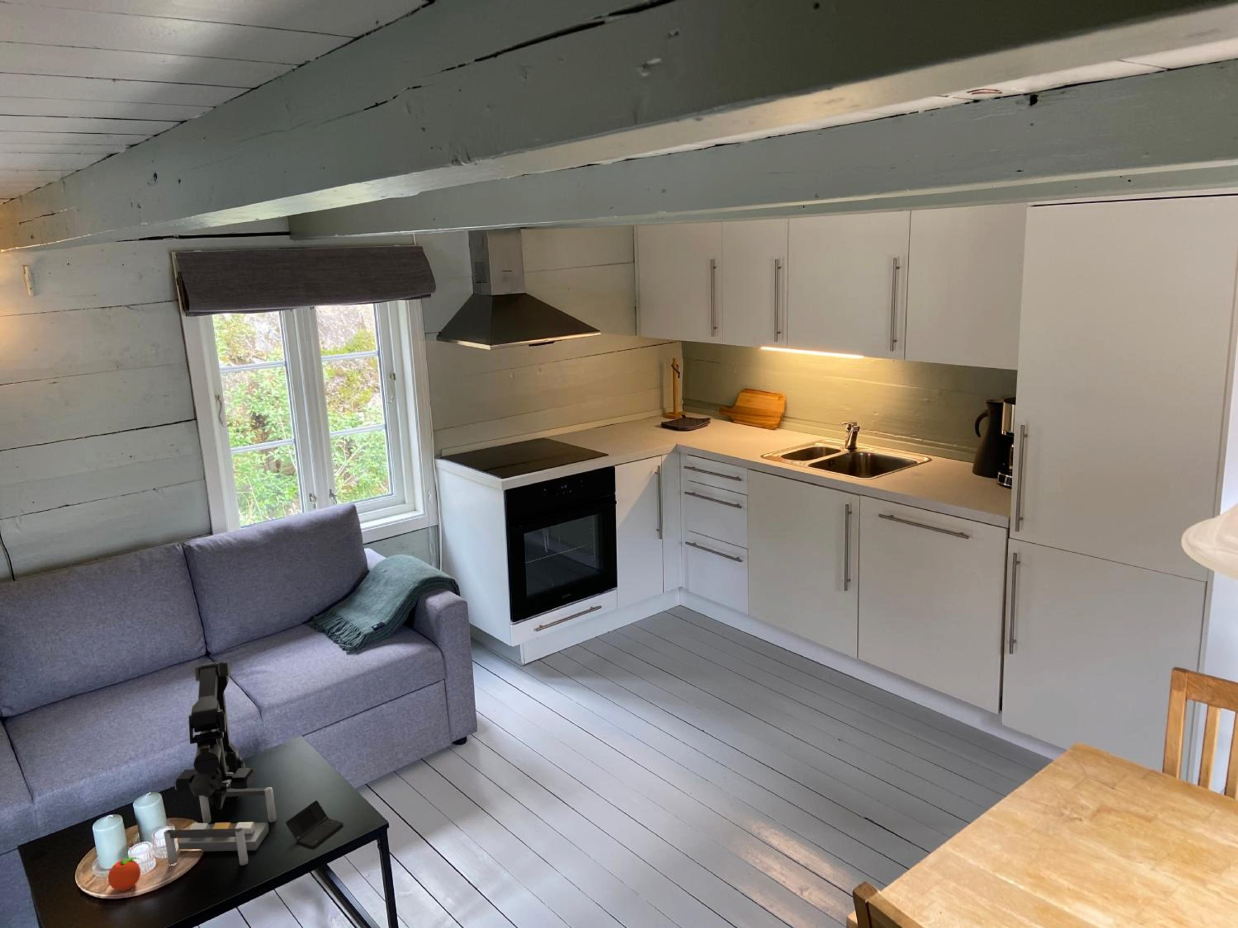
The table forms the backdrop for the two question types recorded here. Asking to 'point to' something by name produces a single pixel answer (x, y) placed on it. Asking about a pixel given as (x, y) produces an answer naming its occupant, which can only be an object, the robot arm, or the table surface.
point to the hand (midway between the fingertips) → (220, 808)
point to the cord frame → (208, 833)
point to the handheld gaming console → (312, 825)
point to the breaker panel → (226, 840)
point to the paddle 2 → (246, 827)
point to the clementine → (124, 874)
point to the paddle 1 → (200, 826)
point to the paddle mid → (222, 826)
